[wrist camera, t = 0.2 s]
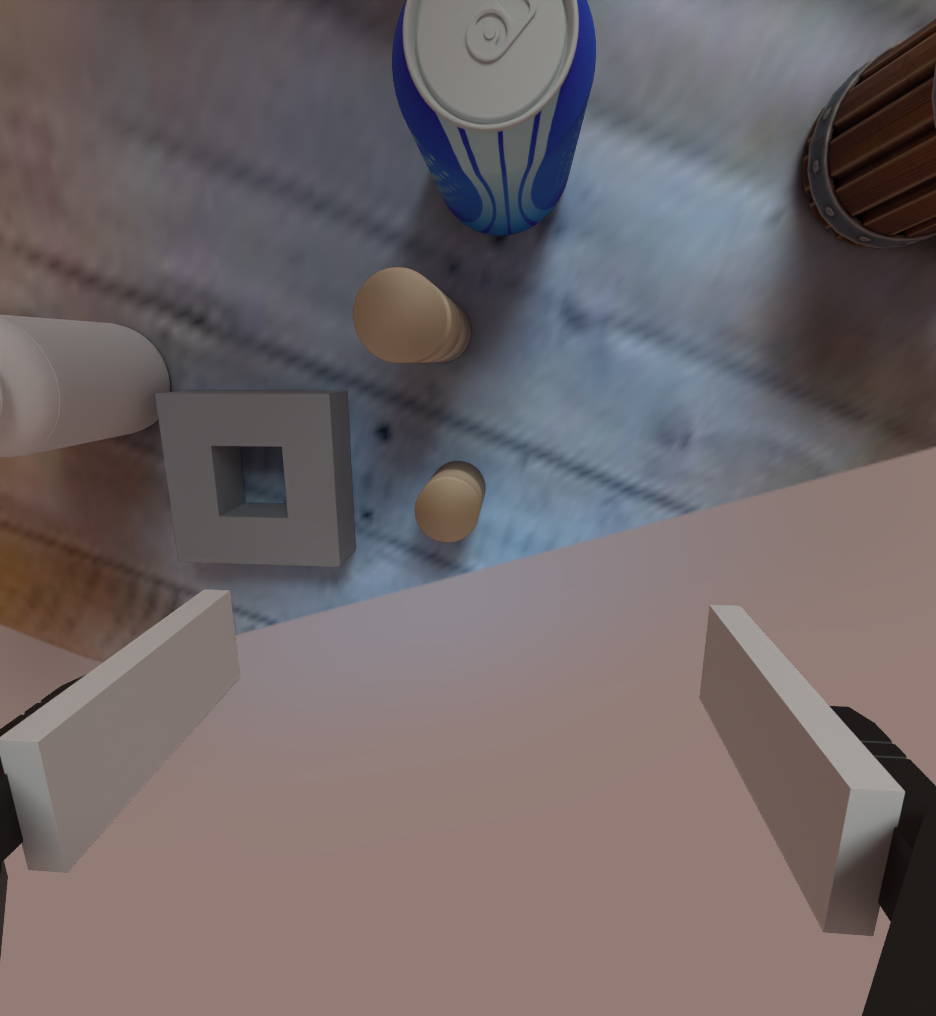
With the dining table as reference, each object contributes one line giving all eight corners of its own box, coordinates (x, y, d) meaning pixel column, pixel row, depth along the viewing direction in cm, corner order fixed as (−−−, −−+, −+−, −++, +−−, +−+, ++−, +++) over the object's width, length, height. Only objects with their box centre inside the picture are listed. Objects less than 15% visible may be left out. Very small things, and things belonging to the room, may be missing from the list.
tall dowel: (413, 301, 39) (350, 267, 25) (471, 301, 39) (442, 266, 24) (415, 361, 40) (355, 363, 26) (471, 361, 40) (443, 363, 25)
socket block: (188, 390, 42) (154, 393, 38) (347, 390, 41) (329, 393, 37) (207, 544, 45) (178, 561, 41) (355, 548, 44) (339, 567, 40)
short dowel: (431, 460, 42) (413, 479, 35) (485, 461, 41) (478, 480, 35) (432, 513, 43) (415, 541, 36) (485, 514, 42) (478, 543, 36)
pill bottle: (113, 451, 44) (-87, 496, 29) (51, 356, 42) (-191, 354, 28) (195, 404, 42) (26, 427, 28) (133, 303, 41) (-78, 272, 26)
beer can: (573, 229, 37) (611, 137, 22) (446, 248, 38) (396, 172, 23) (563, 82, 35) (597, -136, 20) (429, 106, 36) (361, -83, 21)
